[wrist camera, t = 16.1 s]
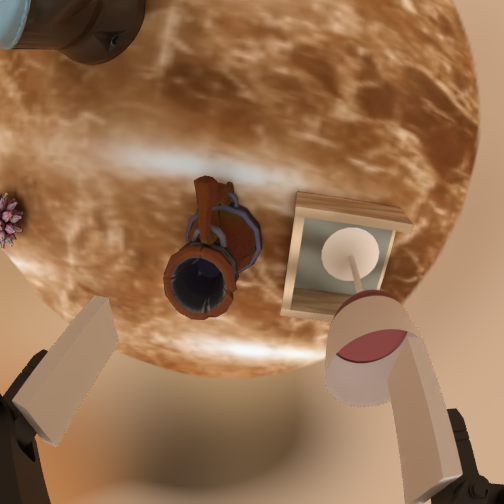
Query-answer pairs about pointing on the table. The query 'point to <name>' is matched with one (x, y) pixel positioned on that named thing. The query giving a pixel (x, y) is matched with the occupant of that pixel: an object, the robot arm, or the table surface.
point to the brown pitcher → (212, 252)
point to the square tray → (311, 244)
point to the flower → (8, 220)
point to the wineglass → (362, 325)
